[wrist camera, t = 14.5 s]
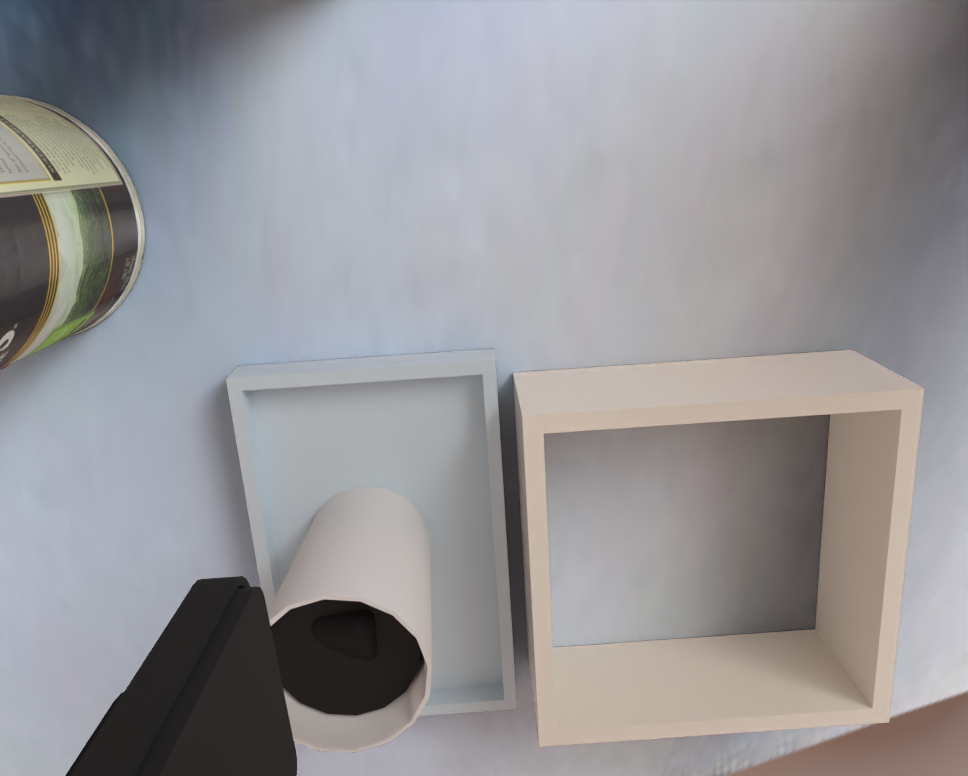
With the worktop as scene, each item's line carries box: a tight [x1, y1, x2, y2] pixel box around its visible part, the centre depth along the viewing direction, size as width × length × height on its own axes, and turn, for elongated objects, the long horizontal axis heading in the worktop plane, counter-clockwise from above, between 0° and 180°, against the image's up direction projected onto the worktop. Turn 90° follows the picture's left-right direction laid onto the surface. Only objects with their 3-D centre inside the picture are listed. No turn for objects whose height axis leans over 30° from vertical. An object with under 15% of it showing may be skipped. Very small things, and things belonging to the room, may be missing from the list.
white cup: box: [268, 486, 432, 753], centre depth 33 cm, size 7×7×10 cm
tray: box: [226, 348, 517, 716], centre depth 38 cm, size 12×18×2 cm, turn 4°
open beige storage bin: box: [513, 350, 924, 747], centre depth 36 cm, size 16×16×6 cm
